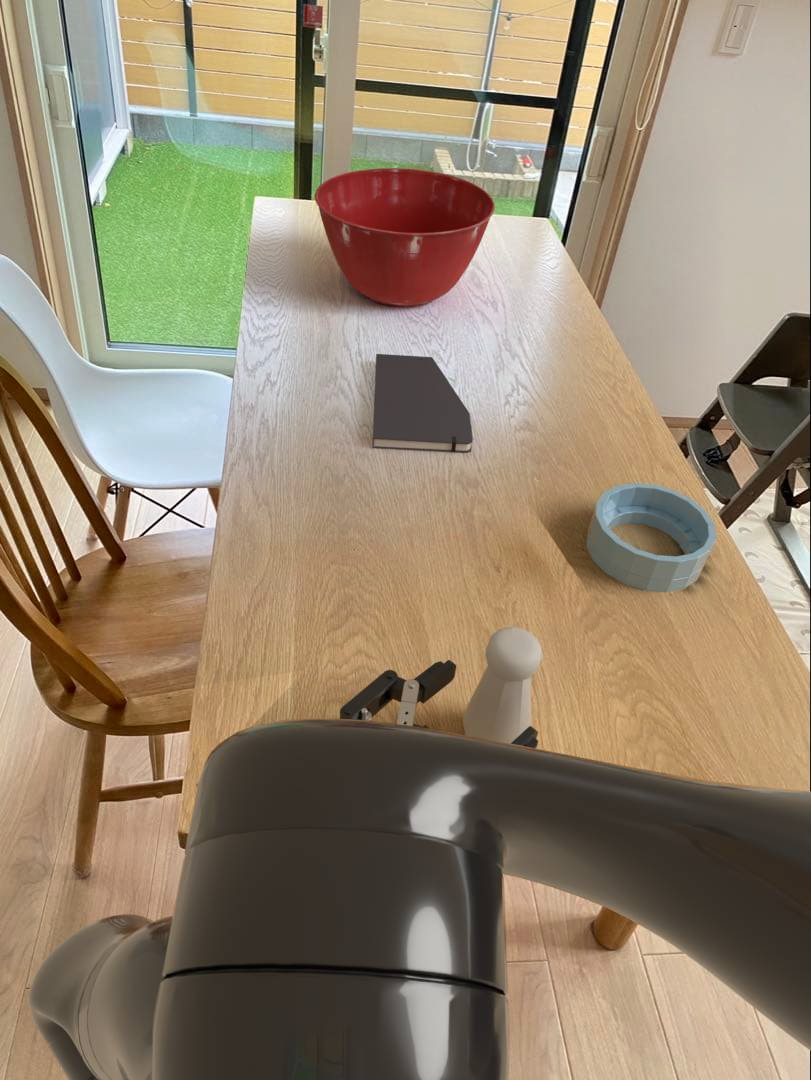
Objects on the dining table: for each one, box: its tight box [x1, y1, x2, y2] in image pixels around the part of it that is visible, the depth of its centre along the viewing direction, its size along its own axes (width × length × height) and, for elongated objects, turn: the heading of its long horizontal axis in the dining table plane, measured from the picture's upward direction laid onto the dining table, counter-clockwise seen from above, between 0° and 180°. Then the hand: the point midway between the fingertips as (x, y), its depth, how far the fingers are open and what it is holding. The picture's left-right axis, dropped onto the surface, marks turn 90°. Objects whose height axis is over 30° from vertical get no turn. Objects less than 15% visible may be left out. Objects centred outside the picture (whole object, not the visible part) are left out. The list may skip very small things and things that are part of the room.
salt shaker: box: [462, 626, 543, 744], centre depth 64 cm, size 6×6×13 cm
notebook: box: [371, 353, 474, 454], centre depth 107 cm, size 13×2×21 cm
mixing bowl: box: [314, 167, 496, 308], centre depth 128 cm, size 28×28×15 cm
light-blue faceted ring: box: [585, 482, 717, 593], centre depth 85 cm, size 13×13×6 cm
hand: (491, 700), depth 63 cm, fingers open, 8 cm apart
